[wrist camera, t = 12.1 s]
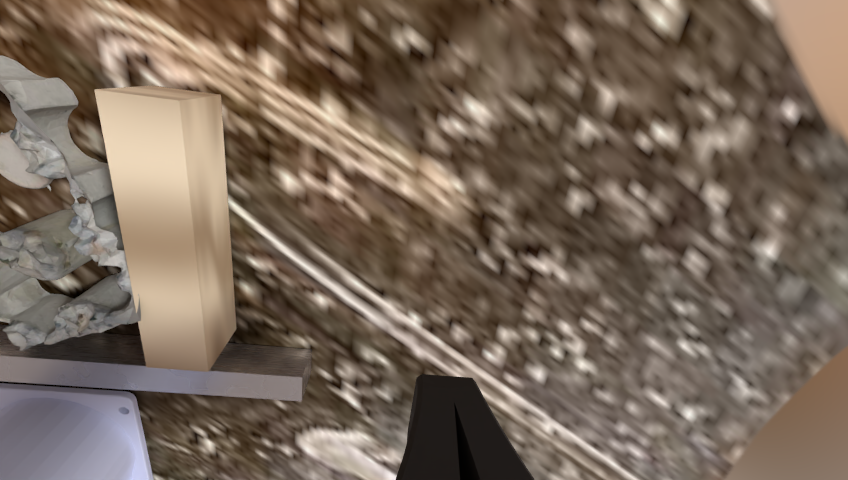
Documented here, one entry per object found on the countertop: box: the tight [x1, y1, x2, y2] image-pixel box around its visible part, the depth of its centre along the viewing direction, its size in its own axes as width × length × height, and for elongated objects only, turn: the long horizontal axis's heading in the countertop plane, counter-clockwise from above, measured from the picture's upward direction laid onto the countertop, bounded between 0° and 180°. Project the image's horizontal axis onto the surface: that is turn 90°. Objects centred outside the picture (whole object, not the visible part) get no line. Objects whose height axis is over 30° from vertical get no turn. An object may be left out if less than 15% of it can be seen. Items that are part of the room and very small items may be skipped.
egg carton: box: [0, 56, 141, 351], centre depth 15 cm, size 11×8×4 cm
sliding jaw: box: [94, 86, 236, 372], centre depth 16 cm, size 11×2×3 cm, turn 172°
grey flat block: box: [0, 325, 312, 401], centre depth 16 cm, size 14×18×3 cm
